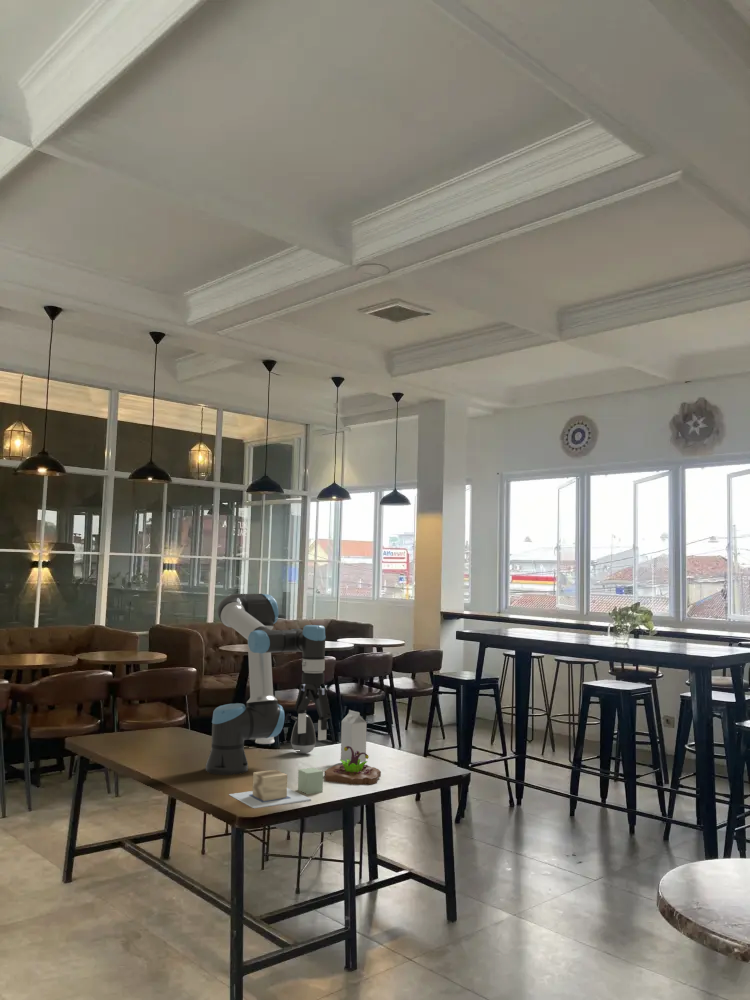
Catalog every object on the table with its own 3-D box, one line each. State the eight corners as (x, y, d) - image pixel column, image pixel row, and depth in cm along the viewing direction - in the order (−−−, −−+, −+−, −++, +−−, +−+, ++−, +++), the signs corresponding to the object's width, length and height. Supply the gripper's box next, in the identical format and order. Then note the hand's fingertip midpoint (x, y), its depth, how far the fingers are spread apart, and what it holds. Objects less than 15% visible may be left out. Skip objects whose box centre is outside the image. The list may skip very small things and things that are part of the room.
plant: (331, 770, 300) (332, 739, 301) (383, 773, 297) (384, 742, 298) (319, 783, 280) (319, 750, 282) (374, 787, 277) (375, 753, 278)
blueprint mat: (228, 797, 259) (228, 793, 259) (284, 789, 270) (284, 786, 270) (253, 811, 244) (253, 807, 244) (310, 802, 255) (311, 798, 255)
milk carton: (355, 758, 319) (356, 709, 321) (365, 761, 313) (366, 711, 315) (340, 760, 315) (341, 710, 317) (350, 764, 309) (351, 713, 311)
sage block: (297, 791, 269) (298, 769, 269) (313, 788, 272) (314, 767, 273) (306, 795, 264) (307, 773, 264) (322, 792, 267) (323, 771, 268)
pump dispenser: (289, 749, 333) (290, 711, 335) (314, 749, 334) (315, 711, 336) (290, 754, 323) (291, 716, 325) (316, 754, 324) (317, 715, 326)
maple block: (252, 795, 258) (253, 772, 259) (274, 791, 263) (275, 769, 264) (263, 800, 252) (264, 777, 252) (286, 797, 256) (287, 774, 257)
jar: (253, 739, 351) (254, 704, 353) (277, 740, 352) (278, 704, 353) (251, 744, 341) (252, 708, 342) (276, 745, 341) (277, 708, 343)
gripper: (285, 668, 280) (284, 731, 278) (322, 676, 259) (321, 744, 257) (304, 667, 284) (303, 729, 282) (342, 675, 263) (341, 741, 261)
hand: (311, 736), depth 269 cm, fingers open, 13 cm apart
